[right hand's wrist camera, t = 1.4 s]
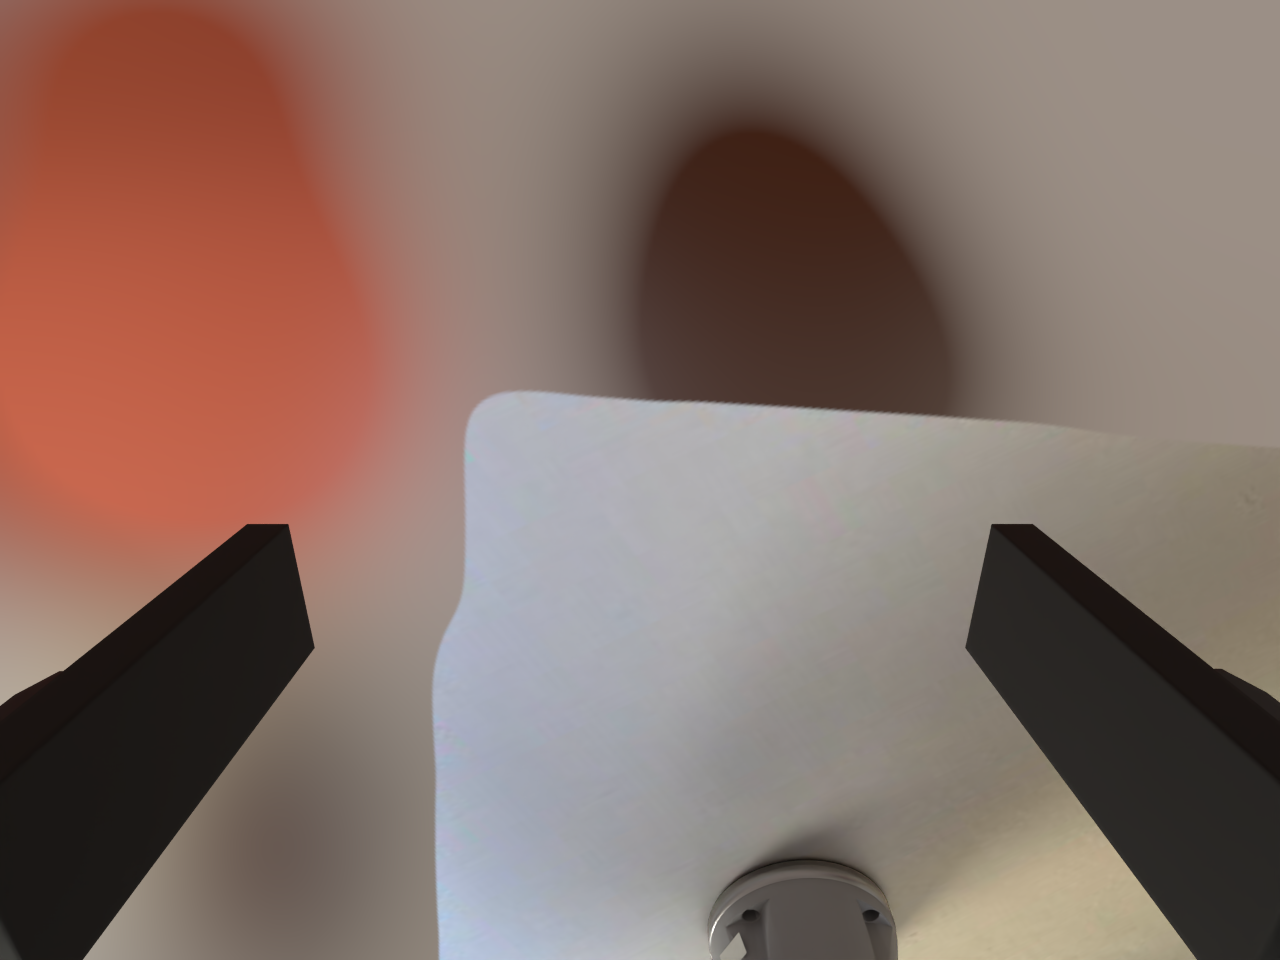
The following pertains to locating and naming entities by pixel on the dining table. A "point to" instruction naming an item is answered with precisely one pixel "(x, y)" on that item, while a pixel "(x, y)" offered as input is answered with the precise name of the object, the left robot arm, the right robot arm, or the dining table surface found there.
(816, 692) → the dining table surface
